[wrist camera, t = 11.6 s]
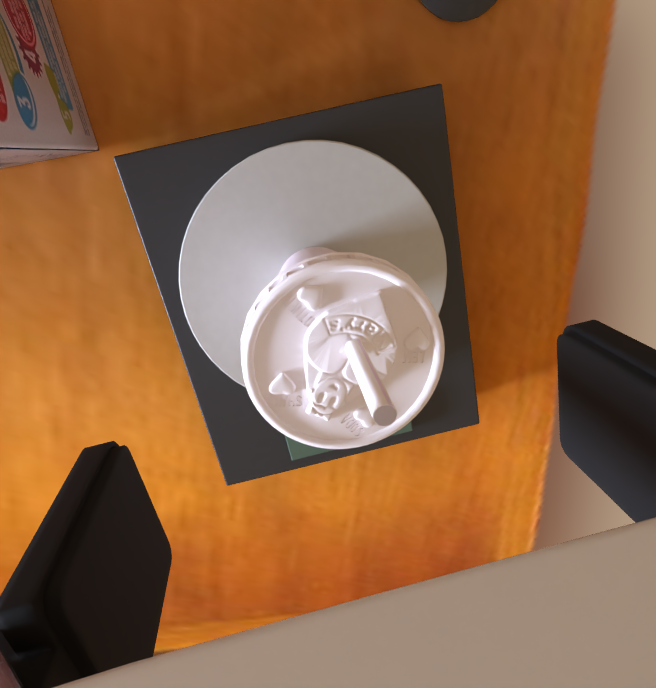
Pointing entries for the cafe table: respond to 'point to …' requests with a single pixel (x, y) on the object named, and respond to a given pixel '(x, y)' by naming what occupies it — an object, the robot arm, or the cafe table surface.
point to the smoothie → (341, 349)
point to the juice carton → (38, 88)
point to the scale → (300, 248)
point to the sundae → (458, 8)
